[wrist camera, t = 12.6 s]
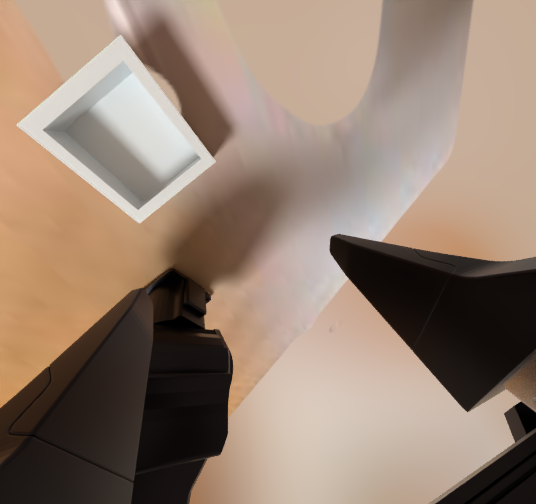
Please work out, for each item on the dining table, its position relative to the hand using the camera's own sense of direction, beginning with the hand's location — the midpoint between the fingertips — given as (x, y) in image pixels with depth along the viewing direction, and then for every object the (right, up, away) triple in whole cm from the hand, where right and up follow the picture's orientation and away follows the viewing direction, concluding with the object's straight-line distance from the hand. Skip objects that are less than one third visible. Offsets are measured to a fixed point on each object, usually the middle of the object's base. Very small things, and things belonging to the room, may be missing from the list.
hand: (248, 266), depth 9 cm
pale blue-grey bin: (-9, +9, +7) cm, 15 cm away
